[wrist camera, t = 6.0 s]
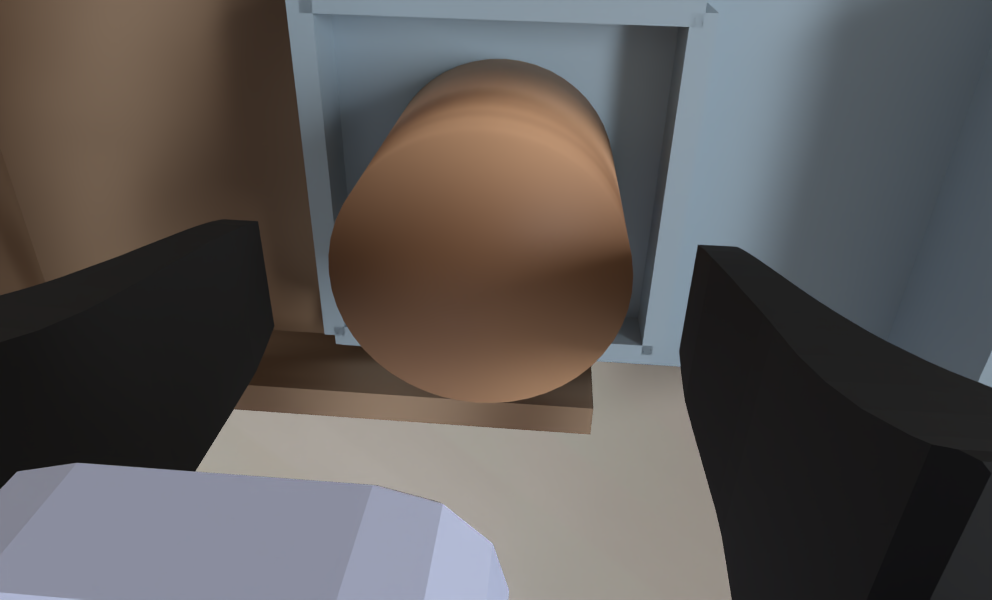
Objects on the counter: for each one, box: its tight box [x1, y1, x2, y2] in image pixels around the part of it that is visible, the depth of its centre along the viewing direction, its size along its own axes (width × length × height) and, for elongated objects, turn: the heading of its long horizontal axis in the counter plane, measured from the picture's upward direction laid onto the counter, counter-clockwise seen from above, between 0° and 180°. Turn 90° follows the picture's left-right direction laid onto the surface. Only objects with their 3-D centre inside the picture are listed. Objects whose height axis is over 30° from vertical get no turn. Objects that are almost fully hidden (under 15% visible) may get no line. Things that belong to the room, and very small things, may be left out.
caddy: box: [0, 0, 593, 434], centre depth 17 cm, size 16×12×4 cm
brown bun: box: [328, 59, 633, 403], centre depth 14 cm, size 5×5×5 cm
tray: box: [285, 0, 992, 387], centre depth 15 cm, size 14×10×4 cm
